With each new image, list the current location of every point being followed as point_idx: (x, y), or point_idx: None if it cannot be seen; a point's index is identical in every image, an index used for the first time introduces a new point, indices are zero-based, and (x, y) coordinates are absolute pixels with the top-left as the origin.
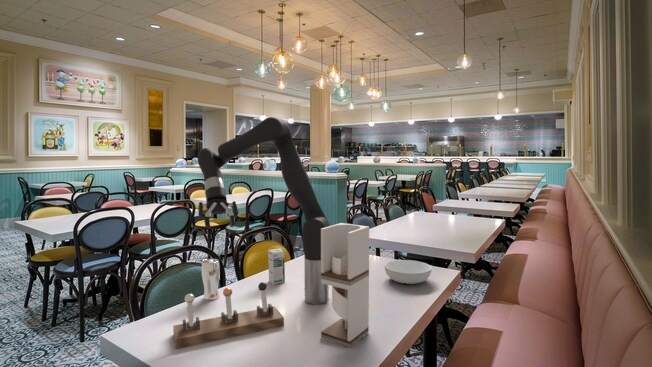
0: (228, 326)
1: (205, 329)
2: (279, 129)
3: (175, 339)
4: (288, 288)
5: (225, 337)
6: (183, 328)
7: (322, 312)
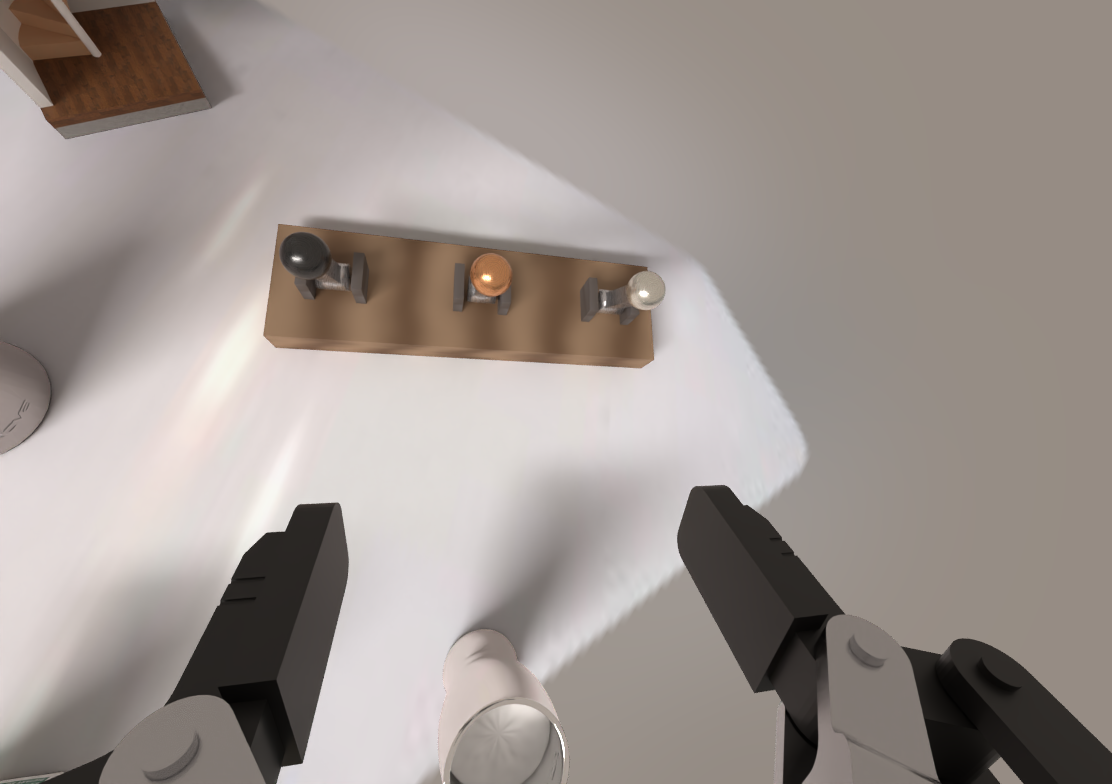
0: None
1: (564, 281)
2: None
3: None
4: (9, 651)
5: None
6: None
7: (57, 263)
